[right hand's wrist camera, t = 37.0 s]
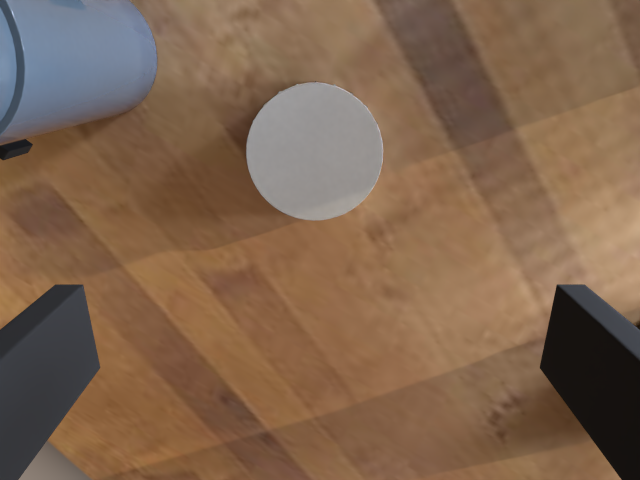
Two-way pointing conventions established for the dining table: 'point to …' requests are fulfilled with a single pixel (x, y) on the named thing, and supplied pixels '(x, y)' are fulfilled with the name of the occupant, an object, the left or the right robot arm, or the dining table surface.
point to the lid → (314, 151)
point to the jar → (70, 64)
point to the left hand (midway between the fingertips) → (70, 71)
